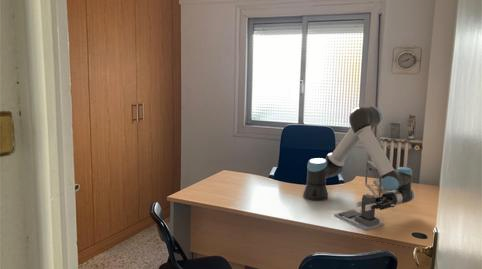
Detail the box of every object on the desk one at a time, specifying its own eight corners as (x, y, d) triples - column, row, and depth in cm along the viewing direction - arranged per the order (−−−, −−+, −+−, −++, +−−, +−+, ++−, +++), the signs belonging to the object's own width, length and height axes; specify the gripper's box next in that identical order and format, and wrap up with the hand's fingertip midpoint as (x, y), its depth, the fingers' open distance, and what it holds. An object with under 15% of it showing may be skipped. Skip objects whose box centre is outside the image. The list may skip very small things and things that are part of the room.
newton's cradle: (364, 184, 257) (366, 159, 254) (380, 185, 256) (382, 160, 254) (378, 199, 227) (381, 171, 224) (395, 199, 227) (398, 171, 224)
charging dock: (333, 216, 199) (334, 209, 198) (352, 211, 206) (352, 205, 205) (365, 230, 181) (365, 223, 180) (383, 224, 188) (384, 218, 188)
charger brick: (361, 215, 189) (362, 194, 187) (366, 214, 191) (367, 193, 189) (368, 219, 185) (370, 197, 183) (374, 217, 187) (375, 196, 185)
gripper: (405, 210, 189) (375, 219, 177) (376, 200, 204) (347, 207, 192) (407, 196, 188) (376, 204, 176) (377, 187, 203) (348, 194, 191)
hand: (361, 206), depth 184 cm, fingers closed on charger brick, 5 cm apart
